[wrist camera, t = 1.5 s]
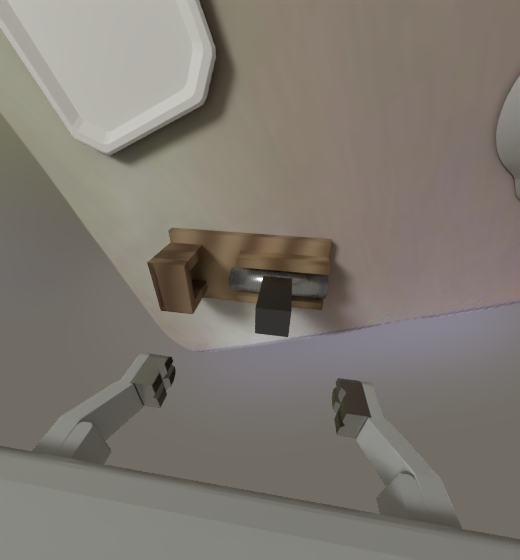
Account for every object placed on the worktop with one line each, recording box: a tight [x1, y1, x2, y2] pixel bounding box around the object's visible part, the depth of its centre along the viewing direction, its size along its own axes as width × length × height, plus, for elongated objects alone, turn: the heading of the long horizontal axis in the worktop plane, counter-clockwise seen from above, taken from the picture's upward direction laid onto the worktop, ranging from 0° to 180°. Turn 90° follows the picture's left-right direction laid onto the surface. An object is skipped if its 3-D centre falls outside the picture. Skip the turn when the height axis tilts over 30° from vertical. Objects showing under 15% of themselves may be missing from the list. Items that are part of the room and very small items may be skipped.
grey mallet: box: [229, 266, 328, 337], centre depth 31 cm, size 14×4×11 cm, turn 89°
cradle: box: [147, 228, 332, 314], centre depth 34 cm, size 24×12×8 cm, turn 89°
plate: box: [0, 0, 216, 155], centre depth 23 cm, size 21×21×2 cm
